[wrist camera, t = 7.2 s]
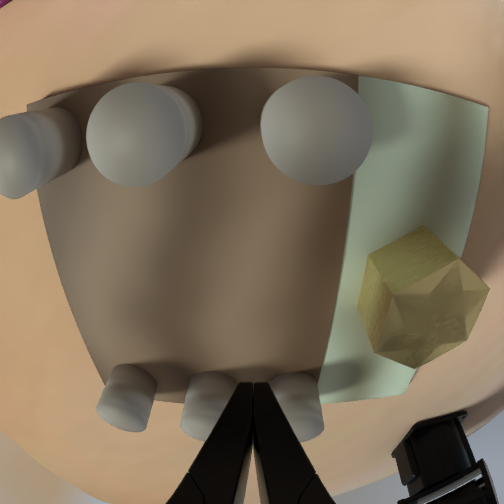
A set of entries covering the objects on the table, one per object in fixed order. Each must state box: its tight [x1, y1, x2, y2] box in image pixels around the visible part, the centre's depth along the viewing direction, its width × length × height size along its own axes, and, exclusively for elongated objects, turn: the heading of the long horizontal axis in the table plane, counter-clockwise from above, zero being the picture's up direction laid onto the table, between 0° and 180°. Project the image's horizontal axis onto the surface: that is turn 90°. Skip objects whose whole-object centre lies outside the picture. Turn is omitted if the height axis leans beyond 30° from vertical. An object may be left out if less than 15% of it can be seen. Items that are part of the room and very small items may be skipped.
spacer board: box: [0, 68, 488, 442], centre depth 12 cm, size 20×18×4 cm
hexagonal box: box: [357, 225, 490, 369], centre depth 12 cm, size 5×6×3 cm
